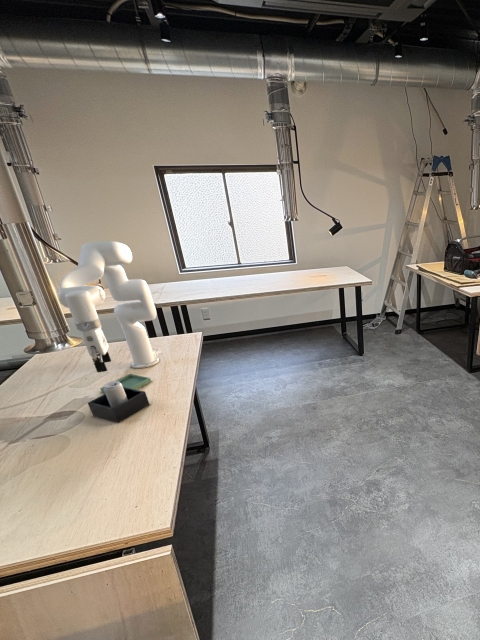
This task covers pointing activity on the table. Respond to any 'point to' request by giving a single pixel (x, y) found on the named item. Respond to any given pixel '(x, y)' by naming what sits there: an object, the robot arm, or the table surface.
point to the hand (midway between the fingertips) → (104, 366)
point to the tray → (132, 381)
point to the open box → (119, 406)
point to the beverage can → (115, 393)
